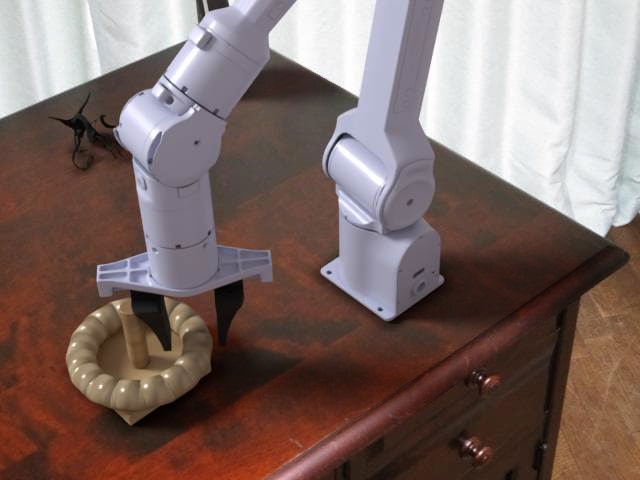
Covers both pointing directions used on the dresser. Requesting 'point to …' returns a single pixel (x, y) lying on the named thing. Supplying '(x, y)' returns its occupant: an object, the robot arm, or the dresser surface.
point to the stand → (136, 355)
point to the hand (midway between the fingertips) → (194, 340)
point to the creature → (82, 125)
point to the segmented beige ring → (146, 390)
